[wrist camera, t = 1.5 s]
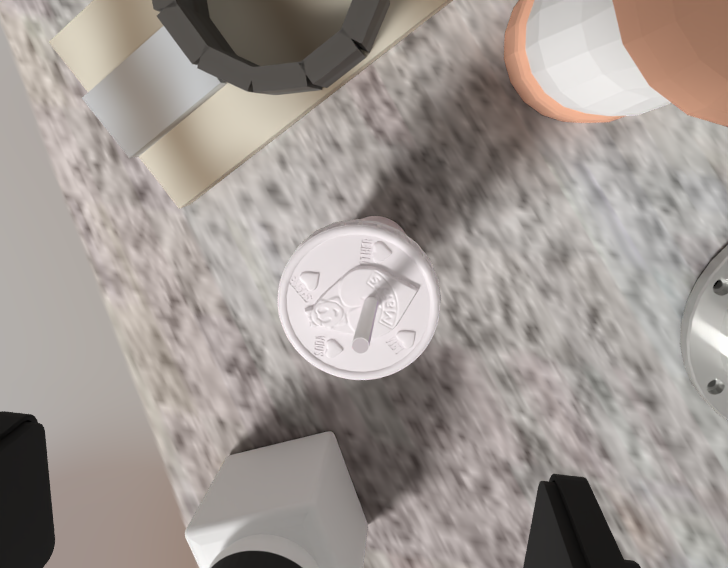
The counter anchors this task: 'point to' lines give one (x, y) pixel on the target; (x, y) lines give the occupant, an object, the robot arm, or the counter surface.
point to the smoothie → (359, 299)
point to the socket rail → (234, 105)
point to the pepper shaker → (619, 57)
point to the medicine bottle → (281, 510)
